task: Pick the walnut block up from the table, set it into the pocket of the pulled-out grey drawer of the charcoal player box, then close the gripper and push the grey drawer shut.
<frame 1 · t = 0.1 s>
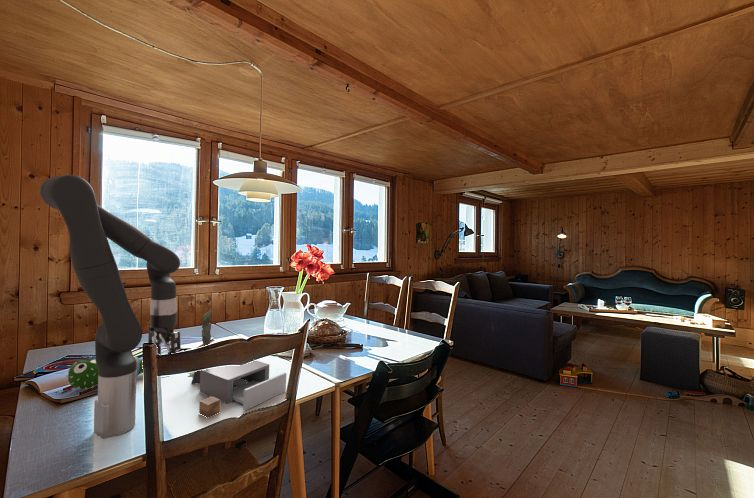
hand: (164, 359, 116), 17 cm above the table, tool pointing down, fingers open, 8 cm apart
walnut block: (209, 413, 116), on the table
grey drawer: (252, 385, 130), point 4 cm above the table, slide at 8.0 cm
player housing: (235, 388, 135), on the table
statue: (203, 380, 142), on the table
toy: (116, 382, 137), on the table
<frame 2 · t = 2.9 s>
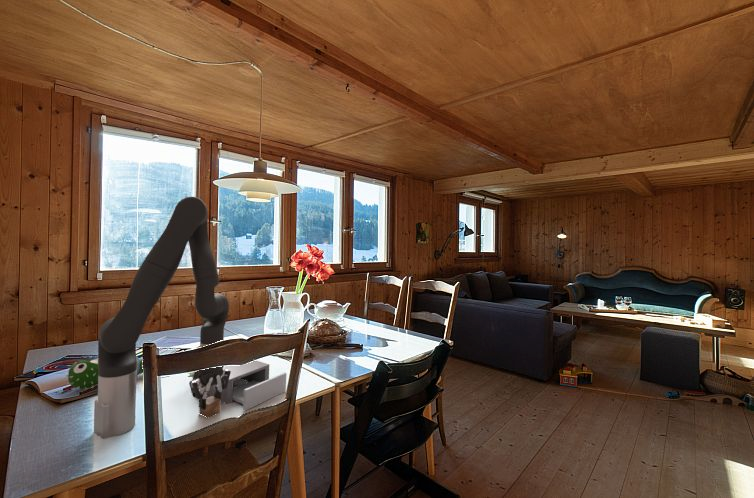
hand: (210, 405, 116), 3 cm above the table, tool pointing down, fingers closed on walnut block, 4 cm apart
walnut block: (209, 413, 116), on the table, touching gripper
everything else where it was.
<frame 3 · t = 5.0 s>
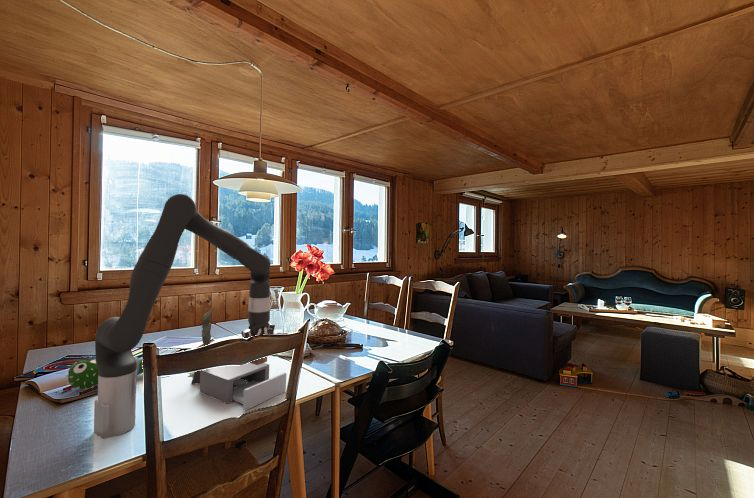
hand: (258, 355, 128), 16 cm above the table, tool pointing down, fingers closed on walnut block, 4 cm apart
walnut block: (258, 362, 128), point 13 cm above the table, touching gripper
everything else where it was.
when the fingers open (5 cm above the table, at t = 7.5 s): walnut block stays where it is, resting on grey drawer.
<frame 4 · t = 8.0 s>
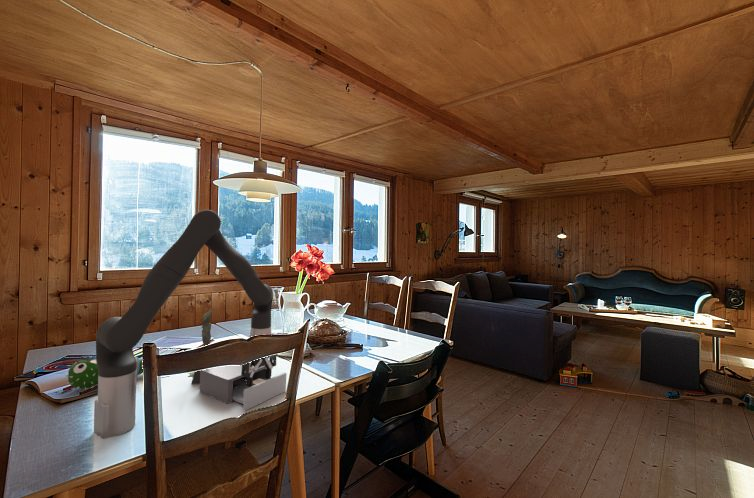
hand: (259, 382, 128), 6 cm above the table, tool pointing down, fingers open, 8 cm apart
walnut block: (258, 393, 128), point 1 cm above the table, touching grey drawer
grey drawer: (252, 385, 130), point 4 cm above the table, slide at 8.0 cm, touching walnut block
everything else where it was.
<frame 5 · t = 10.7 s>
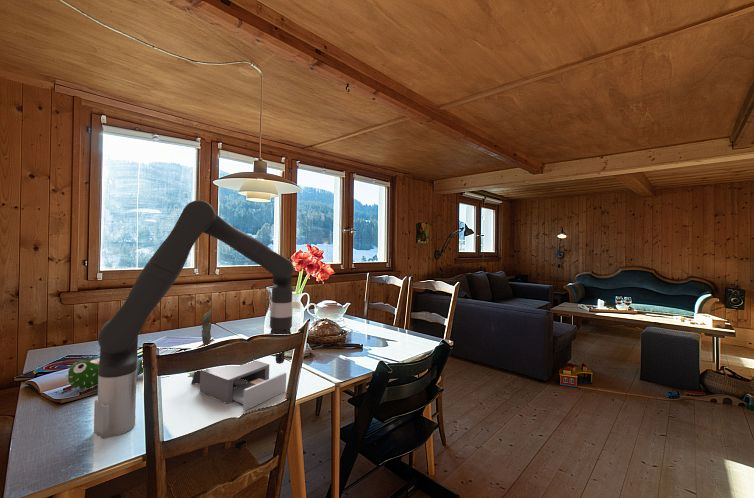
hand: (279, 362, 123), 15 cm above the table, tool pointing down, fingers closed
nothing on the table moved.
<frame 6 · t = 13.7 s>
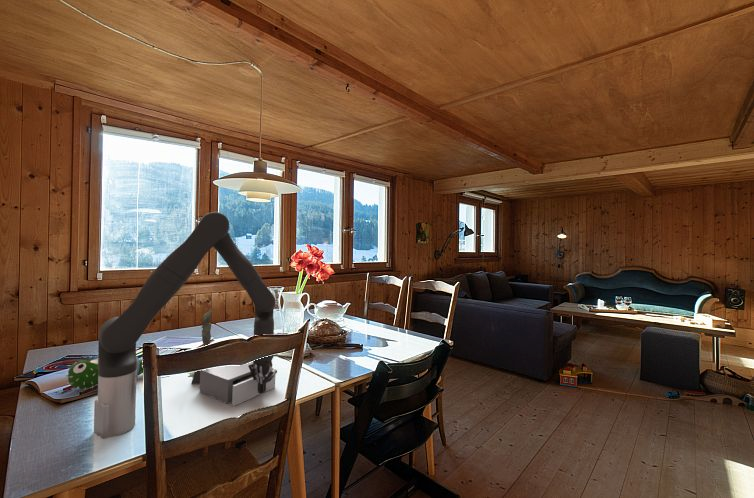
hand: (261, 392, 127), 2 cm above the table, tool pointing down, fingers closed
walnut block: (247, 389, 131), point 1 cm above the table, touching grey drawer
grey drawer: (242, 381, 133), point 4 cm above the table, slide at 2.2 cm, touching hand, walnut block
everything else where it was.
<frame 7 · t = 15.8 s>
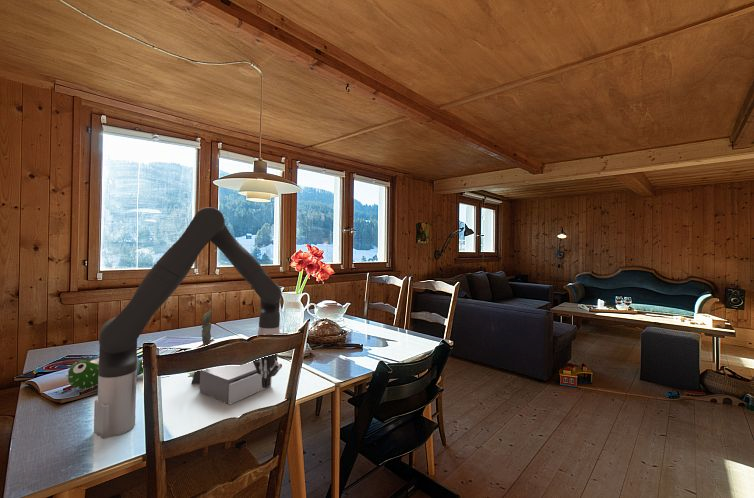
hand: (265, 387, 124), 6 cm above the table, tool pointing down, fingers closed
walnut block: (243, 388, 132), point 1 cm above the table, touching grey drawer
grey drawer: (238, 380, 134), point 4 cm above the table, slide at 0.1 cm, touching walnut block
everything else where it was.
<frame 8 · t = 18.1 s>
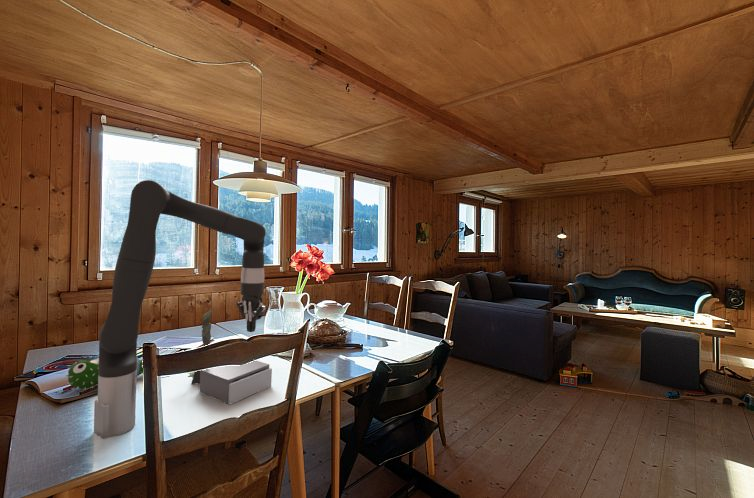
hand: (250, 331, 119), 27 cm above the table, tool pointing down, fingers closed
nothing on the table moved.
at the end: grey drawer slide at 0.1 cm; walnut block inside the target area (0.6 cm from its centre), point 1.5 cm above the table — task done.
